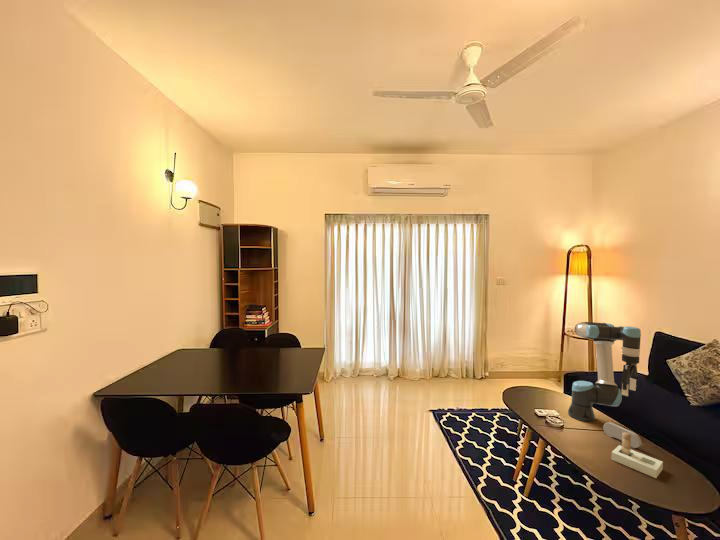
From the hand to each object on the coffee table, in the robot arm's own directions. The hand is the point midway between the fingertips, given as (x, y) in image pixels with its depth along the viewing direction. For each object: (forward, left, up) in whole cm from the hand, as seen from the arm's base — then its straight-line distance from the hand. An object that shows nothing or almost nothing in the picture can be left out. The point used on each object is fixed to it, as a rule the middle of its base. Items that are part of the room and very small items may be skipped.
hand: (628, 392), depth 183 cm
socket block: (+14, +8, -32) cm, 36 cm away
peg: (+14, +4, -32) cm, 35 cm away
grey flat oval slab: (-7, -4, -32) cm, 33 cm away
